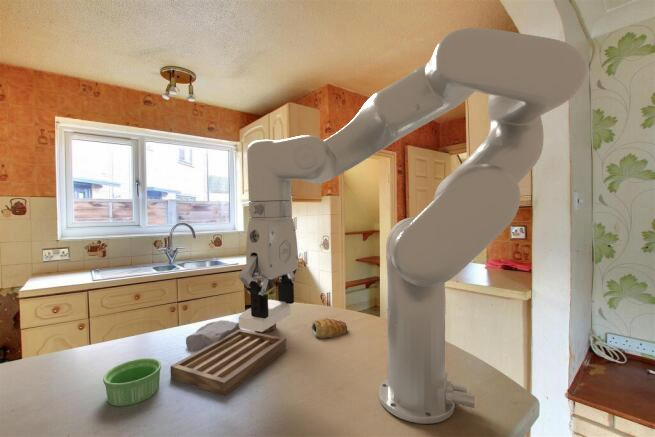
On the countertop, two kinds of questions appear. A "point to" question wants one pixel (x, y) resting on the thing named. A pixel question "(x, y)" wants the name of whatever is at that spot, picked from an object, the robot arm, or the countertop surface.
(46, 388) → the countertop surface
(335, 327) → the pastry
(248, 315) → the soap bar
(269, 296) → the sauce bottle
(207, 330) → the stone block
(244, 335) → the drying rack
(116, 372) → the ramekin
